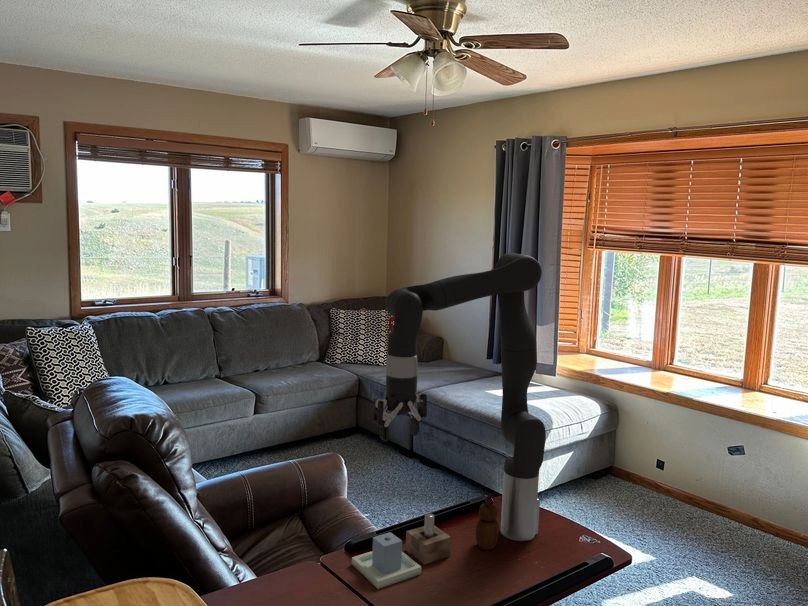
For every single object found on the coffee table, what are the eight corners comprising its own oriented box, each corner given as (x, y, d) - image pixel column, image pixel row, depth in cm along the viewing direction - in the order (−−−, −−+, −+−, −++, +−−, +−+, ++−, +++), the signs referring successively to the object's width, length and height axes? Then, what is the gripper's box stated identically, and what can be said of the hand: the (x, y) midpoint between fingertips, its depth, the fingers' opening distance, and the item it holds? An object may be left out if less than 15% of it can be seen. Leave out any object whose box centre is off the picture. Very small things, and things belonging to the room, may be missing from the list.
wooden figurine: (496, 554, 161) (499, 497, 159) (473, 551, 162) (476, 495, 160) (498, 541, 168) (501, 486, 166) (476, 538, 169) (479, 484, 167)
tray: (393, 551, 161) (393, 544, 161) (421, 574, 151) (421, 566, 151) (351, 564, 154) (351, 557, 154) (377, 589, 144) (378, 581, 144)
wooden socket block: (431, 541, 166) (432, 523, 166) (450, 555, 160) (451, 537, 159) (405, 549, 162) (406, 531, 161) (424, 564, 155) (424, 545, 155)
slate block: (389, 559, 156) (390, 531, 155) (401, 568, 152) (402, 540, 151) (372, 564, 153) (372, 537, 152) (383, 574, 149) (384, 546, 148)
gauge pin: (429, 550, 162) (430, 512, 161) (434, 554, 160) (436, 516, 159) (421, 552, 161) (422, 514, 159) (426, 556, 159) (428, 518, 157)
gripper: (385, 379, 147) (383, 447, 149) (434, 373, 155) (432, 437, 157) (368, 372, 153) (366, 437, 155) (417, 366, 161) (414, 428, 163)
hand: (399, 437), depth 156 cm, fingers open, 8 cm apart
